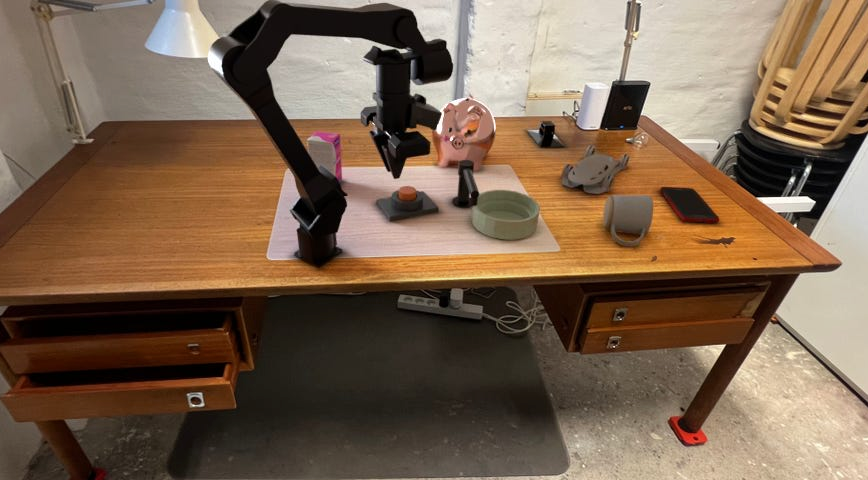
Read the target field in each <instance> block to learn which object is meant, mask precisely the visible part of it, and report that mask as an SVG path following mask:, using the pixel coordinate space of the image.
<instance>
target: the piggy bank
mask: <svg viewBox="0 0 868 480" xmlns="http://www.w3.org/2000/svg"><path fill="white" fill-rule="evenodd" d="M468 97H469V98H468ZM468 97H465V98H464V97H463V98H458V99H455V100H452V101H451V102H450V101H449V102H448V103H446V104H445V105H444V106H443V107H441V109H440V110H439V111H440V112H442V115H441V117H440V120H439V123H438V125H437V128H436V130H432V129H431V136H432V137H431V138H432V139H431V140H432V142H433V146H434V148H435V151H436V153H437V166H438V167H441V168H447V167H449V166H450V164H451V163H458V164H459V161H461V160H470V161H472V162H474V170H473V172H479V171H481V170H482V163H483V160H484V159H485V157H486V156H487V154H489V152H490V150H491V149H492V147H493V145H494V142H495V138H496V131H497V129H496V127H497V126H496V121H495V118H494V115H493V114H492V111H491V110H490V109H489V108H488V106H486V105H485V104H483V102H481V101H479V100H476V99H474V97H473V95H472V94H471V93H469V94H468Z"/></svg>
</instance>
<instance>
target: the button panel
mask: <svg viewBox="0 0 868 480" xmlns="http://www.w3.org/2000/svg"><path fill="white" fill-rule="evenodd" d="M391 193H392V194H391V196H388V197H383V198H377V199H376V202H375V203H376V206H377V207H378V208H379V209H380V211H381V212H382V214H383V215H384V216H385V217H386V219H387V221H389V222H395V221H400V220H406V219H410V218H415V217H421V216H425V215H432V214H436V213H439V206H438V205H437V204H436V203H435V201H433V200H432V199H431V198H430V196H428V195H427V193H425V192H424V190H417V189H416V198H415V199H414V200H409V201H406V200H401V199H399V189H397V190H395V191H393V192H391Z"/></svg>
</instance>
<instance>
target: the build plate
mask: <svg viewBox="0 0 868 480" xmlns="http://www.w3.org/2000/svg"><path fill="white" fill-rule="evenodd" d="M555 128H556V124H555V123H554V122H553V121H552V120H541V121H540V124H539V128H538V129H527V130H526V132H527V134H528V135H529V136H530V137H531V138H532V140H533V141H534V142H535V144H536V145H537V146H538V148H540V149H552V148H553V149H554V148H555V149H556V148H565V147H566V146H565V144H564V143H563V142H562V141H561V140H560V139H559V138H558V136H557V135H556V134H555V131H556V129H555Z"/></svg>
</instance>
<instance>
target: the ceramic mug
mask: <svg viewBox="0 0 868 480" xmlns="http://www.w3.org/2000/svg"><path fill="white" fill-rule="evenodd" d="M602 212H603V213H602V225H603V228H604V229H605V230H607V231H610V235H611V237H612V240H613V241H614V242H615V243H616V244H618V245H620V246H623V247H629V248H631V247H636V246H637V245H638V244H639V243H640V242H642V240H643V238H644V236H646V235H647V234H648V233H649V231H650V229H651V226H652V222H653V218H654V217H653V216H654V201H653V197H652V196H651V195H635V194H634V195H633V194H632V195H631V194H613V195H609V196H608V197H607V198H606V200H605V203H604V206H603V211H602ZM617 233H625V234H630V235H631V234H632V235H640V236H639V237H638V238H637V239H635V240H631V241H629V240H624V239H622V238H620V237H619V236H618V235H617Z"/></svg>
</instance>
